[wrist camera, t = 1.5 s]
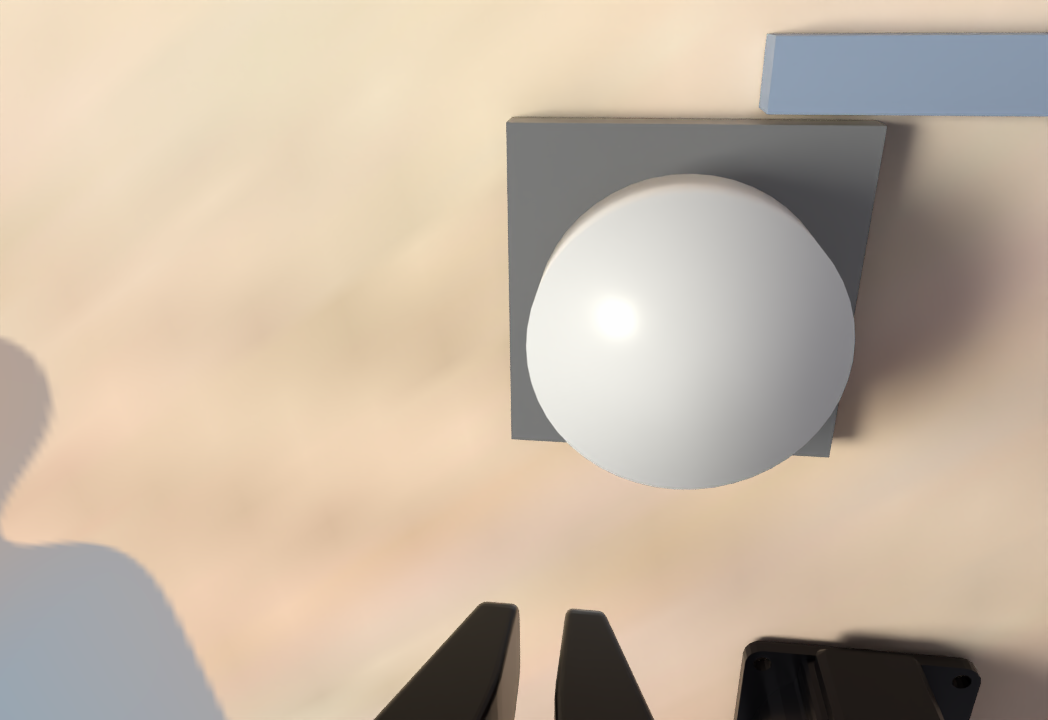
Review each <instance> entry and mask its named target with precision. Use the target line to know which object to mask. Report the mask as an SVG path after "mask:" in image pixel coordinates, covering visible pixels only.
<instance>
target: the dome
mask: <svg viewBox="0 0 1048 720" xmlns="http://www.w3.org/2000/svg"><path fill="white" fill-rule="evenodd" d="M854 347H855V327H854V317H853V312H852V307H851V302H850V299H849V296H848V293H847V291H846V288H845V285H844V282H843V280H842V279H841V277H840V275H839V273H838V271H837V269H836V268H835V266H834V264H833V263H832V261H831V260H830V259H829V257H828V256H827V255H826V253H825V252H824V251H823V249H822V248H821V247H820V246H819V244H818V243H817V242H816V240H815V239H814V238H813V236H812V235H811V234H810V232H809V231H808V230H807V229H806V227H805V226H804V225H803V223H802V222H801V221H800V220H799V219H798V218H797V217H796V216H795V215H794V214H793V213H792V212H791V211H790V210H789V209H788V208H786V207H785V206H784V205H782V204H781V203H779V202H778V201H777V200H775V199H774V198H773V197H771V196H769V195H767V194H766V193H764V192H762V191H760V190H758V189H756V188H754V187H752V186H749V185H746V184H744V183H741V182H738V181H735V180H732V179H727V178H723V177H718V176H714V175H702V174H677V175H667V176H662V177H656V178H651V179H647V180H644V181H641V182H638V183H635V184H632V185H629V186H627V187H625V188H623V189H621V190H618V191H616V192H614V193H612V194H610V195H609V196H607V197H606V198H604V199H603V200H601V201H599V202H598V203H596V204H595V205H594V206H592V207H591V208H590V209H589V210H587V211H586V212H585V213H584V214H583V215H581V216H580V217H579V218H578V219H577V220H576V221H575V223H574V224H573V225H572V226H571V227H570V228H569V229H568V230H567V231H566V233H565V234H564V235H563V237H562V238H561V240H560V241H559V243H558V244H557V245H556V247H555V249H554V251H553V253H552V255H551V256H550V258H549V260H548V262H547V265H546V267H545V270H544V273H543V276H542V279H541V281H540V284H539V287H538V290H537V293H536V296H535V299H534V302H533V305H532V308H531V312H530V317H529V322H528V327H527V340H526V352H527V365H528V370H529V374H530V379H531V383H532V386H533V389H534V391H535V394H536V397H537V399H538V402H539V404H540V405H541V407H542V409H543V411H544V413H545V415H546V417H547V418H548V419H549V421H550V422H551V424H552V425H553V426H554V428H555V429H556V431H557V432H558V433H559V434H560V435H561V436H562V437H563V438H564V439H565V440H566V442H567V443H568V444H569V445H570V446H571V447H573V448H574V449H575V450H576V451H577V452H579V453H580V454H581V455H582V456H583V457H585V458H586V459H588V460H589V461H591V462H592V463H594V464H596V465H597V466H599V467H600V468H602V469H604V470H606V471H608V472H610V473H612V474H614V475H616V476H619V477H622V478H624V479H627V480H630V481H633V482H636V483H640V484H644V485H649V486H653V487H660V488H668V489H703V488H713V487H718V486H723V485H728V484H732V483H736V482H739V481H742V480H745V479H748V478H751V477H754V476H756V475H758V474H760V473H762V472H765V471H767V470H769V469H771V468H773V467H774V466H776V465H778V464H779V463H781V462H783V461H784V460H786V459H788V458H789V457H790V456H792V455H793V454H794V453H795V452H797V451H798V450H799V449H800V448H802V447H803V446H804V445H805V444H806V443H807V442H808V441H809V440H810V439H811V438H812V437H813V436H814V435H815V434H816V433H817V432H818V431H819V430H820V429H821V427H822V426H823V425H824V423H825V422H826V421H827V420H828V418H829V417H830V416H831V414H832V412H833V411H834V409H835V407H836V405H837V404H838V402H839V400H840V399H841V396H842V394H843V391H844V389H845V386H846V384H847V382H848V379H849V375H850V371H851V367H852V363H853V357H854Z"/></svg>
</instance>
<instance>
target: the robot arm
mask: <svg viewBox="0 0 1048 720" xmlns="http://www.w3.org/2000/svg"><path fill="white" fill-rule="evenodd" d="M763 657H764V658H767V659H765V660H760V661H759V660H756V659H758V658H763ZM519 675H520V618H519V610H518V608H517V606H516V605H514V604H508V603H496V602H483V603H481V604H479V605H478V606H477V607H476V608H475V610H474V611H473V612H472V613H471V614H470V615H469V616H468V617H467V618H466V619H465V621H464V622H463V623H462V624H461V625H460V626H459V627H458V628H457V629H456V630H455V631H454V633H453V634H452V635H451V636H450V637H449V638H448V639H447V640H446V641H445V642H444V643H443V645H442V646H441V647H440V648H439V649H438V650H437V651H436V652H435V653H434V654H433V655H432V657H431V658H430V659H429V660H428V661H427V662H426V663H425V664H424V665H423V666H422V668H421V669H420V670H419V671H418V672H417V673H416V674H415V675H414V676H413V677H412V678H411V680H410V681H409V682H408V683H407V684H406V685H405V686H404V687H403V688H402V689H401V690H400V692H399V693H398V694H397V695H396V696H395V697H394V698H393V699H392V700H391V701H390V702H389V704H388V705H387V706H386V707H385V708H384V709H383V710H382V711H381V712H380V713H379V715H378V716H377V717H376V718H375V719H374V720H514V718H515V710H516V701H517V693H518V685H519ZM959 675H963V676H961V677H957V676H959ZM955 677H957V678H955ZM980 684H981V678H980V676H979V674H978V672H977V670H976V668H975V666H974V665H973V663H972V662H970V661H969V660H967V659H963V658H955V657H944V656H932V655H920V654H909V653H897V652H885V651H873V650H862V649H850V648H838V647H827V646H815V645H803V644H791V643H780V642H768V641H756V642H753V643H750V644H749V645H748V646H747V647H745V649H744V652H743V658H742V665H741V672H740V679H739V686H738V693H737V700H736V708H735V715H734V720H969V719H970V716H971V713H972V709H973V706H974V703H975V700H976V696H977V693H978V690H979V687H980ZM554 720H654V718H653V716H652V714H651V712H650V710H649V708H648V705H647V703H646V701H645V699H644V697H643V695H642V693H641V690H640V688H639V686H638V684H637V682H636V680H635V677H634V675H633V673H632V671H631V669H630V667H629V665H628V662H627V660H626V658H625V656H624V654H623V652H622V649H621V647H620V645H619V643H618V641H617V639H616V636H615V634H614V632H613V630H612V628H611V626H610V624H609V621H608V619H607V617H606V616H605V614H604V613H602V612H601V611H593V610H581V609H570V610H568V611H567V613H566V615H565V621H564V629H563V636H562V643H561V650H560V657H559V665H558V672H557V679H556V688H555V716H554Z"/></svg>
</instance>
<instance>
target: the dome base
mask: <svg viewBox="0 0 1048 720" xmlns="http://www.w3.org/2000/svg"><path fill="white" fill-rule="evenodd" d="M886 131H887V125H884V124H882V123H880V122H878V121H876V120H800V119H678V118H556V117H512V118H511V119H510V120H508V121H507V122H506V134H507V194H508V253H509V312H510V372H511V431H512V439H518V440H536V441H553V442H566V440H565V439H564V438H563V437H562V436H561V435H560V434H559V433H558V432H557V431H556V429H555V428H554V426H553V425H552V424H551V422H550V421H549V419H548V418H547V417H546V415H545V413H544V411H543V409H542V407H541V405H540V404H539V402H538V399H537V397H536V394H535V391H534V389H533V386H532V383H531V379H530V374H529V370H528V365H527V352H526V340H527V327H528V322H529V317H530V312H531V308H532V305H533V302H534V299H535V296H536V293H537V290H538V287H539V284H540V281H541V279H542V276H543V273H544V270H545V267H546V265H547V262H548V260H549V258H550V256H551V255H552V253H553V251H554V249H555V247H556V245H557V244H558V243H559V241H560V240H561V238H562V237H563V235H564V234H565V233H566V231H567V230H568V229H569V228H570V227H571V226H572V225H573V224H574V223H575V221H576V220H577V219H578V218H579V217H580V216H581V215H583V214H584V213H585V212H586V211H587V210H589V209H590V208H591V207H592V206H594V205H595V204H596V203H598V202H599V201H601V200H603V199H604V198H606V197H607V196H609V195H610V194H612V193H614V192H616V191H618V190H621V189H623V188H625V187H627V186H629V185H632V184H635V183H638V182H641V181H644V180H647V179H651V178H656V177H662V176H667V175H677V174H702V175H714V176H718V177H723V178H727V179H732V180H735V181H738V182H741V183H744V184H746V185H749V186H752V187H754V188H756V189H758V190H760V191H762V192H764V193H766V194H767V195H769V196H771V197H773V198H774V199H775V200H777V201H778V202H779V203H781V204H782V205H784V206H785V207H786V208H788V209H789V210H790V211H791V212H792V213H793V214H794V215H795V216H796V217H797V218H798V219H799V220H800V221H801V222H802V223H803V225H804V226H805V227H806V229H807V230H808V231H809V232H810V234H811V235H812V236H813V238H814V239H815V240H816V242H817V243H818V244H819V246H820V247H821V248H822V249H823V251H824V252H825V253H826V255H827V256H828V257H829V259H830V260H831V261H832V263H833V264H834V266H835V268H836V269H837V271H838V273H839V275H840V277H841V279H842V280H843V282H844V285H845V288H846V291H847V293H848V296H849V299H850V302H851V307H852V312H853V317H854V313H855V307H856V301H857V296H858V290H859V284H860V279H861V273H862V267H863V261H864V256H865V250H866V244H867V239H868V233H869V227H870V222H871V216H872V210H873V205H874V199H875V193H876V188H877V182H878V176H879V171H880V165H881V159H882V153H883V148H884V142H885V136H886ZM838 404H839V402H838ZM838 404H837V405H836V407H835V409H834V411H833V412H832V414H831V416H830V417H829V418H828V420H827V421H826V422H825V423H824V425H823V426H822V427H821V429H820V430H819V431H818V432H817V433H816V434H815V435H814V436H813V437H812V438H811V439H810V440H809V441H808V442H807V443H806V444H805V445H804V446H803V447H802V448H800V449H799V450H798V451H797V452H795V453H794V454H793V455H796V456H813V457H829V455H830V449H831V443H832V438H833V432H834V426H835V421H836V415H837V409H838Z"/></svg>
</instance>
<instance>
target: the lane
mask: <svg viewBox="0 0 1048 720" xmlns="http://www.w3.org/2000/svg"><path fill="white" fill-rule="evenodd" d="M759 108H760V109H761V110H763V111H764V112H765V113H766V114H797V115H931V116H1048V33H830V34H767V38H766V47H765V56H764V65H763V74H762V83H761V92H760V102H759Z"/></svg>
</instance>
